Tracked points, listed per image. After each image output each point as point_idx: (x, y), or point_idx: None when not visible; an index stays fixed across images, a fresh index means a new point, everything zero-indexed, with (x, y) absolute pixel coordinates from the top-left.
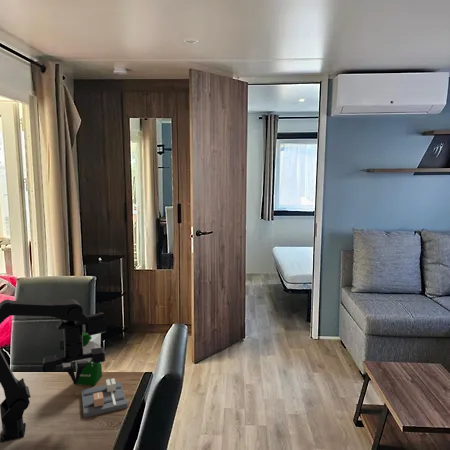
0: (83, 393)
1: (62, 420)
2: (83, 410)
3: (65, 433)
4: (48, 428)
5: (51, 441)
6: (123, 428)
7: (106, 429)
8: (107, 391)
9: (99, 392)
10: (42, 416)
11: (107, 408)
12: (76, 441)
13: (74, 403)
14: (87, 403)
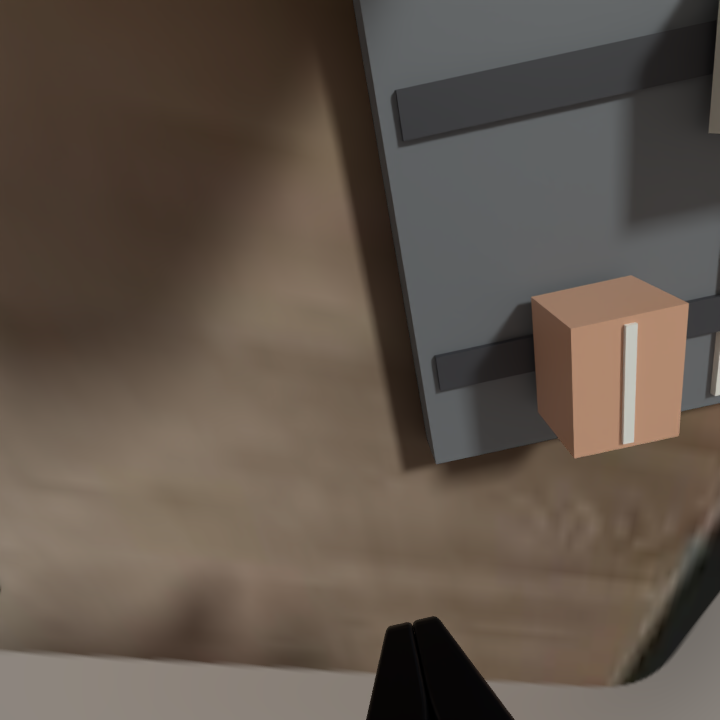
0: (393, 59)
1: (245, 448)
2: (429, 424)
3: (312, 584)
4: (159, 524)
5: (236, 638)
6: (696, 580)
7: (590, 577)
8: (715, 133)
9: (651, 313)
10: (18, 363)
11: None
12: None
13: (294, 184)
14: (461, 313)
